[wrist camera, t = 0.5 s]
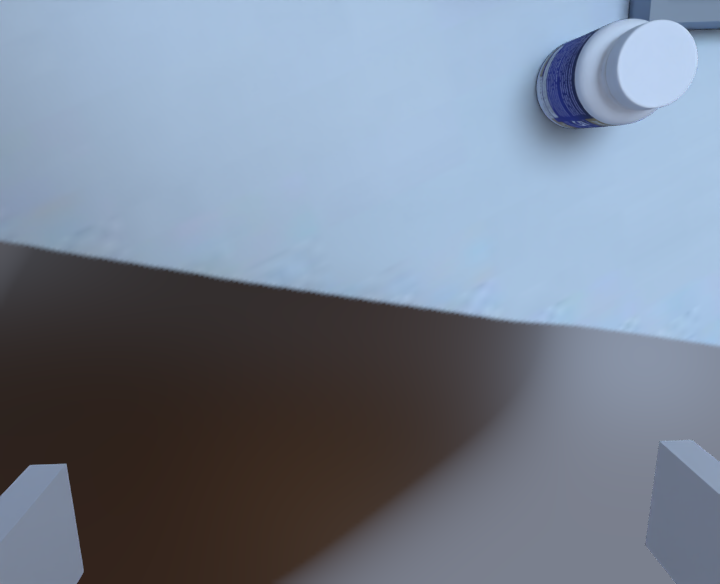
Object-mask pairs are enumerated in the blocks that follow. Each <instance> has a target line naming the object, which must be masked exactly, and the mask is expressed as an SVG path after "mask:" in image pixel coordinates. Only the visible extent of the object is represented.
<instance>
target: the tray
mask: <svg viewBox="0 0 720 584" xmlns="http://www.w3.org/2000/svg"><path fill="white" fill-rule="evenodd" d="M629 19H642V20H646V21H649V22H650V21H653V20H670V21H674V22H676V23H679V24H680V25H682V26H683V27H684V28H686V29H687V30H701V29H720V0H630V6H629Z"/></svg>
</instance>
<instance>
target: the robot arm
mask: <svg viewBox="0 0 720 584" xmlns="http://www.w3.org/2000/svg"><path fill="white" fill-rule="evenodd" d="M645 545H646V547H647V548H648V549H649V550H650V552H651V553H652V554H653V556H654V557H655V558H656V559H657V561H658V562H659V563H660V564H661V566H662V567H663V568H664V569H665V571H666V572H667V573H668V574H669V576H670V577H671V578H672V579H673V581H674V582H675V583H676V584H720V462H719V461H718V460H717V459H715V458H714V457H713V456H712V455H710V454H709V453H708V452H707V451H705V450H704V449H703V448H702V447H700V446H699V445H698V444H697V443H695V442H694V441H693V440H675V441H659V448H658V455H657V462H656V469H655V476H654V484H653V491H652V499H651V506H650V513H649V521H648V528H647V535H646V542H645ZM83 572H84V570H83V563H82V557H81V551H80V545H79V539H78V532H77V527H76V520H75V514H74V508H73V502H72V495H71V489H70V484H69V477H68V471H67V465H66V464H48V465H30V466H29V467H28V468H27V469H26V470H25V471H24V472H23V473H22V474H21V475H20V476H19V477H18V478H17V479H16V481H14V482H13V484H12V485H11V486H10V487H9V488H8V489H7V490H6V491H5V492H4V493H3V494H2V495H1V496H0V584H77V582H78V581H79V579H80V577H81V576H82V574H83Z"/></svg>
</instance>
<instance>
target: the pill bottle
mask: <svg viewBox="0 0 720 584" xmlns="http://www.w3.org/2000/svg"><path fill="white" fill-rule="evenodd" d="M697 65H698V53H697V47H696V44H695V41H694V39H693V37H692V35H691V34H690V33H689V31H688V30H687V29H686V28H684V27H683V26H682V25H680V24H679V23H676V22H674V21H670V20H653V21H650V22H649V21H646V20H642V19H623V20H619V21H615V22H613V23H610V24H608V25H606V26H603V27H601V28H599V29H597V30H594V31H592V32H590V33H588V34H585V35H583V36H581V37H578V38H576V39H574V40H571V41H569V42H566V43H564V44H562V45H561V46H559V47H558V48H556V49H555V50H554V51H553V52H552V53H551V54H550V55H549V56H548V57H547V59H546V60H545V62H544V63H543V65H542V67H541V69H540V72H539V75H538V80H537V97H538V101H539V104H540V106H541V108H542V110H543V112H544V113H545V115H546V116H547V117H548V118H549V119H550V120H551V121H553V122H554V123H556V124H557V125H560V126H562V127H565V128H573V129H575V128H591V127H605V126H616V125H625V124H630V123H634V122H637V121H640V120H642V119H644V118H646V117H647V116H649V115H650V114H652V113H653V112H654V111H656V110H657V109H658V108H661V107H664V106H667V105H669V104H671V103H673V102H674V101H676V100H677V99H678V98H680V97H681V96H682V95H683V94H684V93H685V91H686V90H687V89H688V87H689V86H690V84H691V83H692V81H693V79H694V76H695V74H696V70H697Z"/></svg>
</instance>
